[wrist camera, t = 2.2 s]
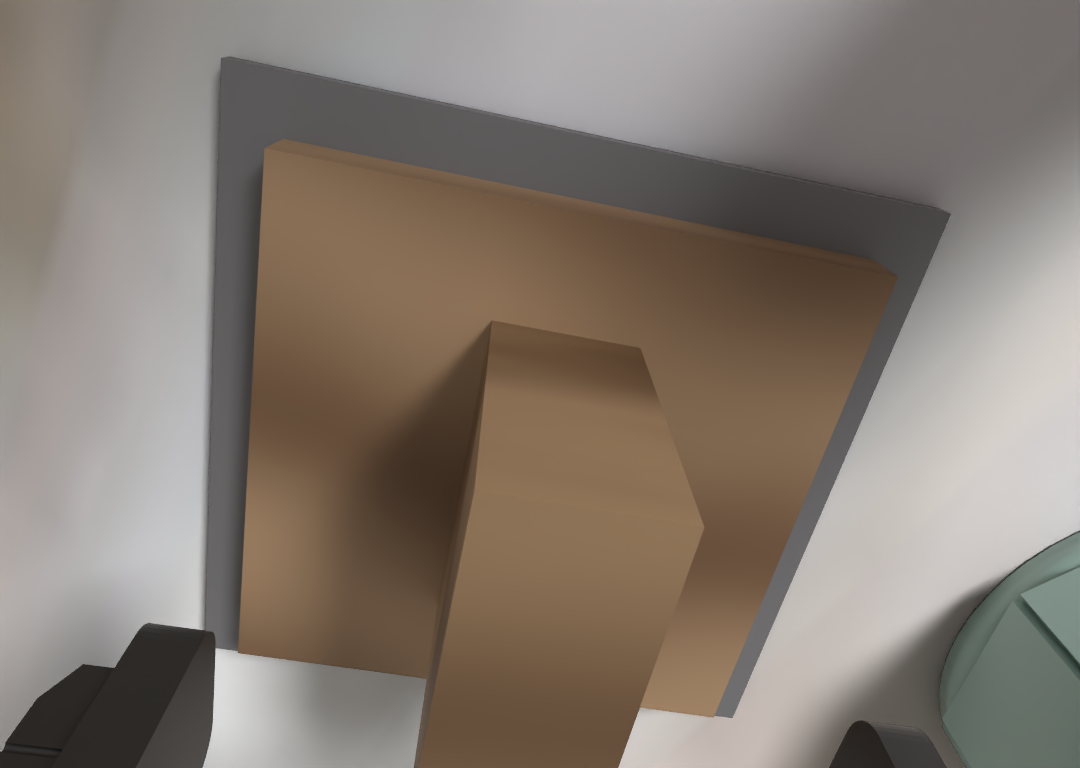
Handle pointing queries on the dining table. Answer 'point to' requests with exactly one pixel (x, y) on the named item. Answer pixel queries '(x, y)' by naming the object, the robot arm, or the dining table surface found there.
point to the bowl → (1019, 669)
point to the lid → (528, 446)
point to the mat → (539, 164)
